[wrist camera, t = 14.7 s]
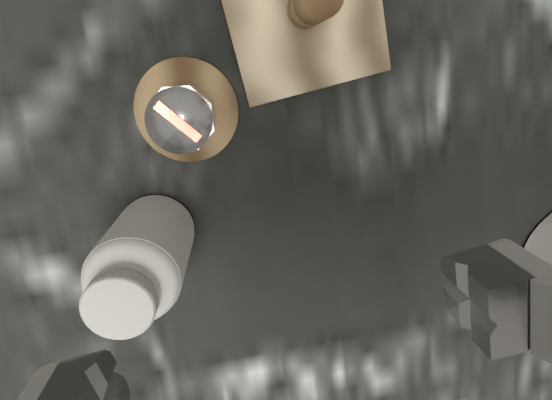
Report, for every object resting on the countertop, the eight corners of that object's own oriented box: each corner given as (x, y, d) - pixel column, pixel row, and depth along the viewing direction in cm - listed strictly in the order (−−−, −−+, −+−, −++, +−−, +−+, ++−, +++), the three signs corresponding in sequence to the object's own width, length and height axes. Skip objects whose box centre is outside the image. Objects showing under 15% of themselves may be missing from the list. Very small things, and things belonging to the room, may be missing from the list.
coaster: (221, 45, 35) (221, 44, 35) (249, 146, 39) (250, 147, 38) (118, 72, 35) (117, 72, 35) (156, 171, 39) (155, 172, 38)
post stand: (360, -95, 33) (405, -151, 24) (383, 69, 38) (426, 70, 29) (206, -55, 33) (197, -98, 24) (249, 105, 37) (253, 116, 29)
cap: (226, 111, 37) (225, 118, 32) (191, 154, 38) (184, 168, 33) (179, 71, 35) (170, 72, 30) (144, 117, 36) (129, 125, 31)
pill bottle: (120, 188, 39) (57, 257, 25) (199, 197, 40) (180, 268, 26) (118, 256, 41) (59, 353, 27) (191, 263, 43) (171, 359, 29)
